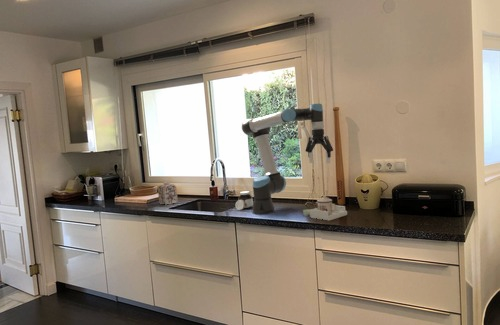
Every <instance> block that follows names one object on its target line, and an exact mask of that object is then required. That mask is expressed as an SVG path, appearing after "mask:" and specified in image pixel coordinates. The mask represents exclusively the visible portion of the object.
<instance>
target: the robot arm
mask: <svg viewBox="0 0 500 325" xmlns="http://www.w3.org/2000/svg"><path fill="white" fill-rule="evenodd" d="M302 121H310V122H311V123H310V124H311V126H310V127H311V136H309V137H308V141H307V144H306V147H305V152H306V153H308V159H309V160H308V161H309V164H312V163H314V152H313V150H314V149H315V146H316V145H321V146H322V147H323V148H324V150H325V151H326V152H325V158H326V164H330V163H331V157H332V154H331V152H333V151H334V149H333V146H332V144H331V141H330V140H329V136H328V135H325V129H324V127H325V125H324V110H323V104H322V103H312V104H310V105H309V107H306V108H286V109H283V110H281V111H278V112H276V113H275V112H274V113H271V114H268V115H264V116H261V117H257V118H255V117H252V118H247V119H245V120H244V121H243V122H242V123H241V131H242V132H243V133H244V134H245V135H246V136H252V139H253V140H255V141H256V144H257V145H256V146H257V149H258V152H259V156H260V159H261V163H262V167H263V170H264V175H263V176H258V177H255V178H254V179H253V180H252V190H253V205H252V207H251V208H252V209H251V212H252V214H254V213H255V215H268V214H271V213H274V212H275V211H276V210H275V206H274V203H273V200H272V195H274V194H277V193H281V192H283V191H284V190H285V188H286V185H287V181H286V178H285V176H283V175H282V174H281V172H280V171H279V170H278V168H277V165H276V161H275V159H274V154H273V152H272V147H271V143H270V139H269V136H270V132H271V127H275V126H278V125H281V124H286V123H291V122H302Z"/></svg>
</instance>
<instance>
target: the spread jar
mask: <svg viewBox="0 0 500 325" xmlns="http://www.w3.org/2000/svg"><path fill="white" fill-rule="evenodd" d="M239 194H240V195H239V196H238V200H237V201H236V202H235V208H236V210H239V211H241V210H248V208H249V209H251V208H253V204H254V198H253V195H251V193H250V191H249V190H245V191H240V192H239Z"/></svg>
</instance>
